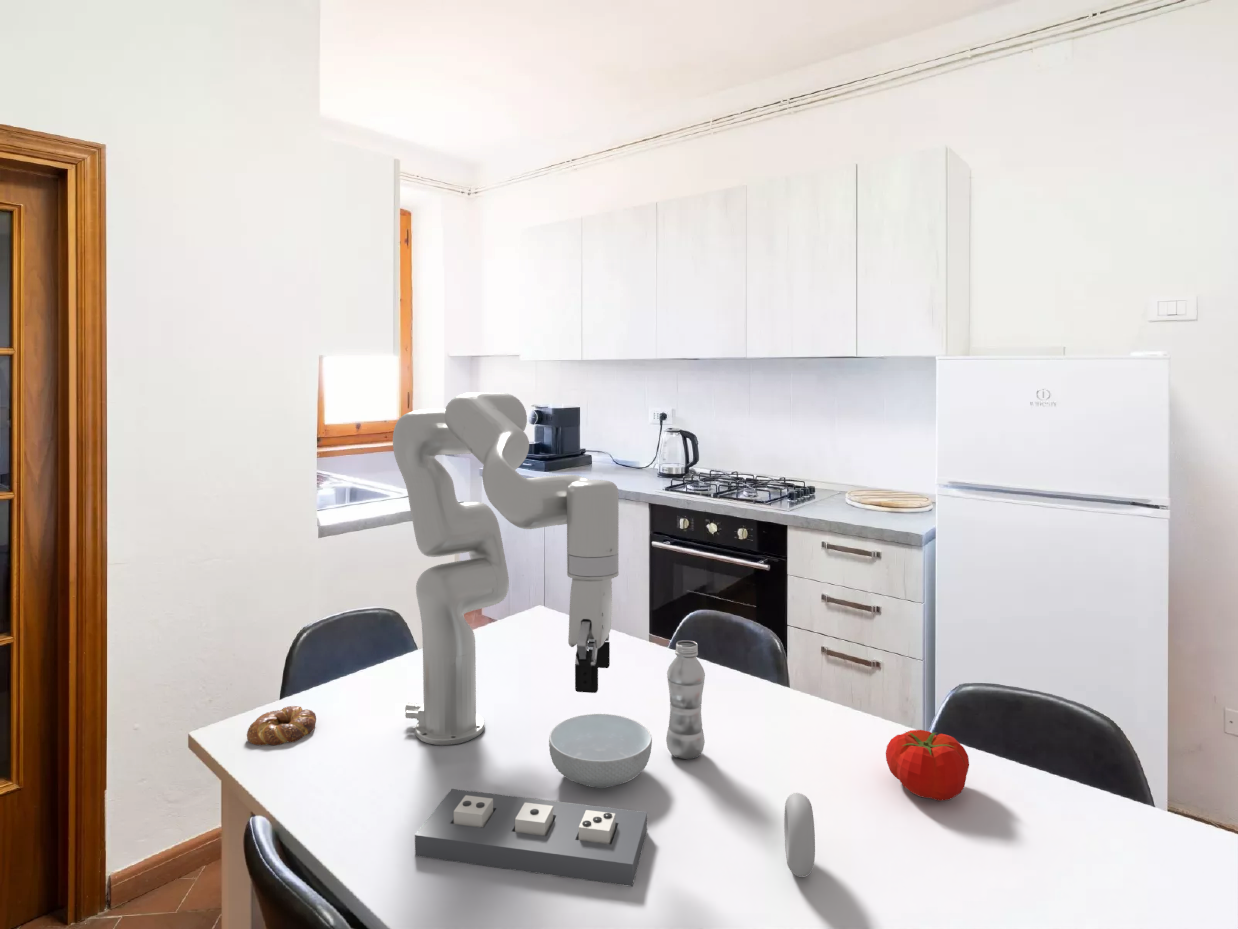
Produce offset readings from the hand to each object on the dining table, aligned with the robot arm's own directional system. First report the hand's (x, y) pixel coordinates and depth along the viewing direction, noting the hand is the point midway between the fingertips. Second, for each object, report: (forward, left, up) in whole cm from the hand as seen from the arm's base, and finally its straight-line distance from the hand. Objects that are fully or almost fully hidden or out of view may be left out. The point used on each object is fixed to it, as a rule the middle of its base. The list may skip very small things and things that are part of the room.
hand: (593, 678), depth 108 cm
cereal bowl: (-1, +11, -21) cm, 24 cm away
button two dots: (-15, -9, -19) cm, 26 cm away
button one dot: (-6, -9, -19) cm, 22 cm away
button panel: (-6, -9, -21) cm, 24 cm away
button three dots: (+3, -9, -19) cm, 21 cm away
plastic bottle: (+12, +21, -21) cm, 32 cm away
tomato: (+51, +18, -21) cm, 58 cm away
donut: (+30, -7, -21) cm, 37 cm away
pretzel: (-62, +14, -21) cm, 67 cm away
